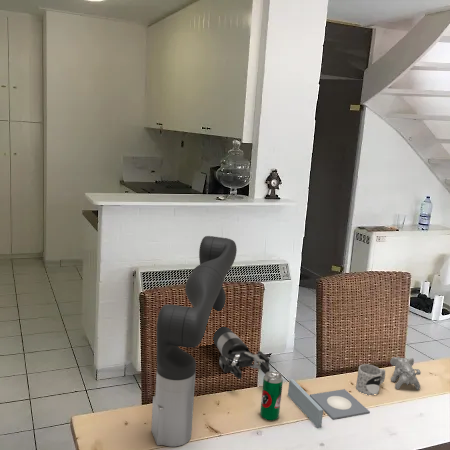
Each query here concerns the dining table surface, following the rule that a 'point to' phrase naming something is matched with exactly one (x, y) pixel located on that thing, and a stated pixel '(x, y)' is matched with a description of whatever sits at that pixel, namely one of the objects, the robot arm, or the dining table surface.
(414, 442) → the dining table surface
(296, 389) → the acrylic wall
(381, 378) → the mug
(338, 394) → the slate pad
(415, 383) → the elephant statuette
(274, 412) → the soda can
